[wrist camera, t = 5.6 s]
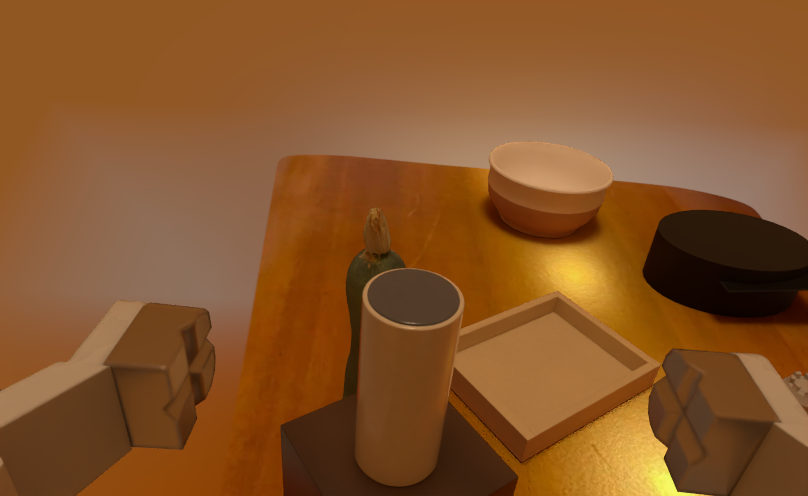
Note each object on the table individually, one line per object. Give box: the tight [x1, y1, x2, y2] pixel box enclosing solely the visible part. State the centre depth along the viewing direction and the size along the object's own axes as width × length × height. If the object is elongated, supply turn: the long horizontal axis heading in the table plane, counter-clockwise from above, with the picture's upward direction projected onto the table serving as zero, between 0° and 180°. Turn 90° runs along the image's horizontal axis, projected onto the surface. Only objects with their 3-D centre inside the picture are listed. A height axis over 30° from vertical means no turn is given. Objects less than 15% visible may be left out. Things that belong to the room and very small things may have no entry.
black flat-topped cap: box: [643, 210, 808, 318], centre depth 67 cm, size 14×18×8 cm
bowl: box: [488, 141, 613, 238], centre depth 77 cm, size 16×16×8 cm
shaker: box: [354, 268, 465, 487], centre depth 27 cm, size 4×4×10 cm
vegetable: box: [343, 208, 406, 399], centre depth 42 cm, size 4×4×20 cm
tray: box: [451, 291, 661, 462], centre depth 52 cm, size 17×13×3 cm
